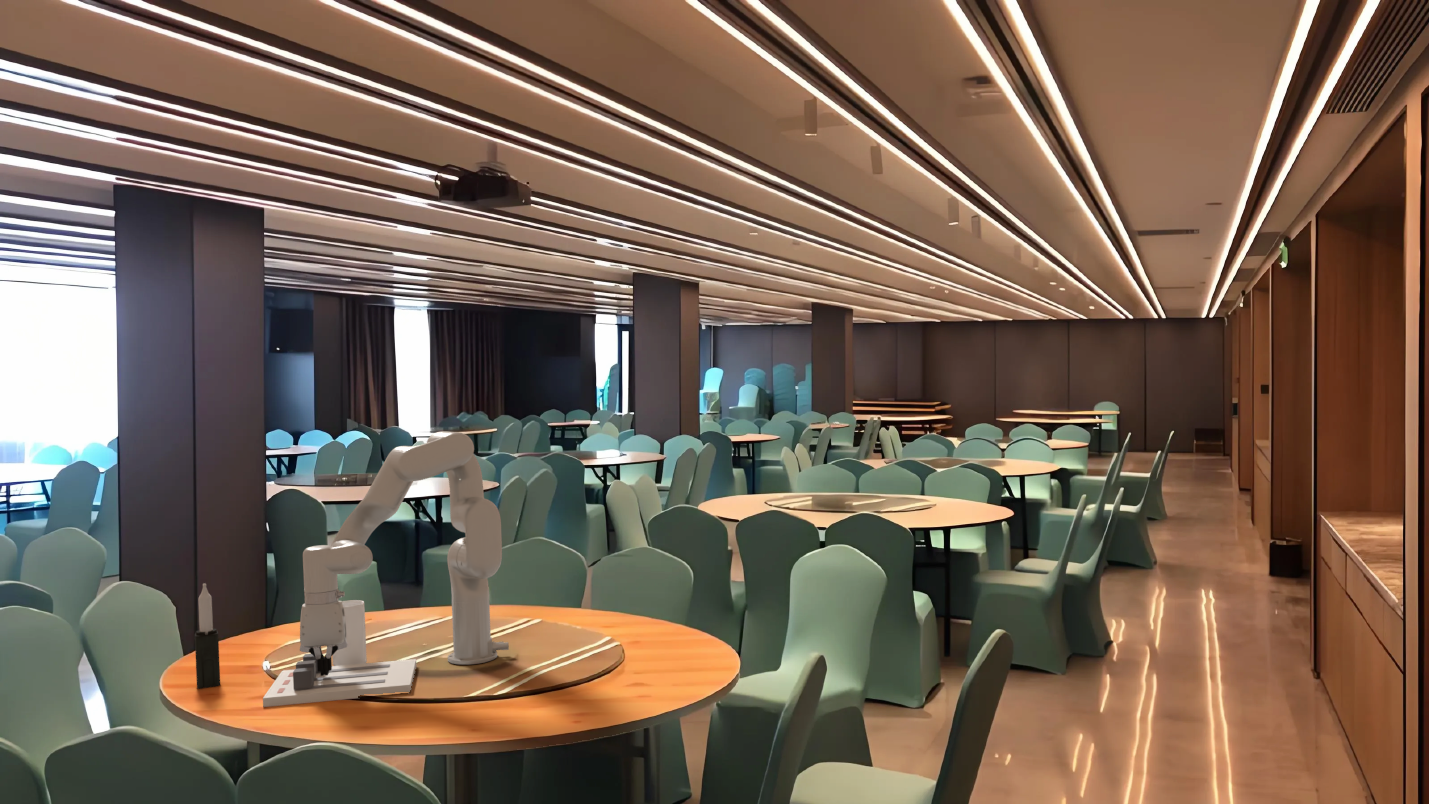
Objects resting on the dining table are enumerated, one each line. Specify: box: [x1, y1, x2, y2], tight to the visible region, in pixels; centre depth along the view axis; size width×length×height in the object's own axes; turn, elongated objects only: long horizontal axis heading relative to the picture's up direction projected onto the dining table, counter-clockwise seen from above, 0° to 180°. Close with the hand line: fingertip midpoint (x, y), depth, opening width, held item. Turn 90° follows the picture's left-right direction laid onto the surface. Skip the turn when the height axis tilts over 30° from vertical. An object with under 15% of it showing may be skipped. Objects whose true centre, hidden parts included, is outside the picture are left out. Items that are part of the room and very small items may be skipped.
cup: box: [332, 599, 368, 666], centre depth 271 cm, size 8×8×16 cm
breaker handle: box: [295, 660, 316, 680], centre depth 250 cm, size 4×3×4 cm
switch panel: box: [262, 653, 417, 708], centre depth 252 cm, size 32×24×6 cm
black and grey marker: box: [194, 582, 221, 690], centre depth 256 cm, size 5×5×25 cm
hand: (324, 673), depth 251 cm, fingers closed
